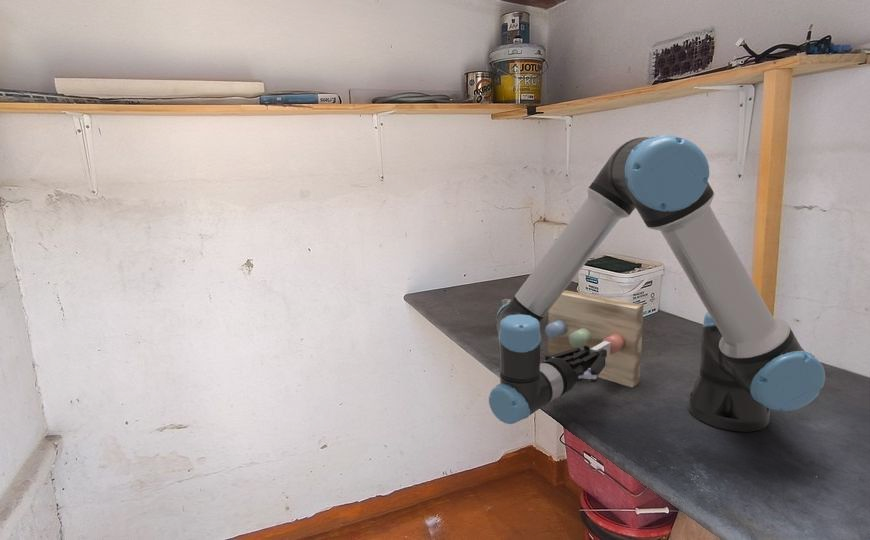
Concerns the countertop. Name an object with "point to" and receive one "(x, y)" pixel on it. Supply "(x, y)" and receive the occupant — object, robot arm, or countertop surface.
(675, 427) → the countertop surface
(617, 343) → the brick red button
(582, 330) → the sage green button
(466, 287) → the countertop surface
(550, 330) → the slate blue button
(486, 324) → the countertop surface
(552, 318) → the button panel
